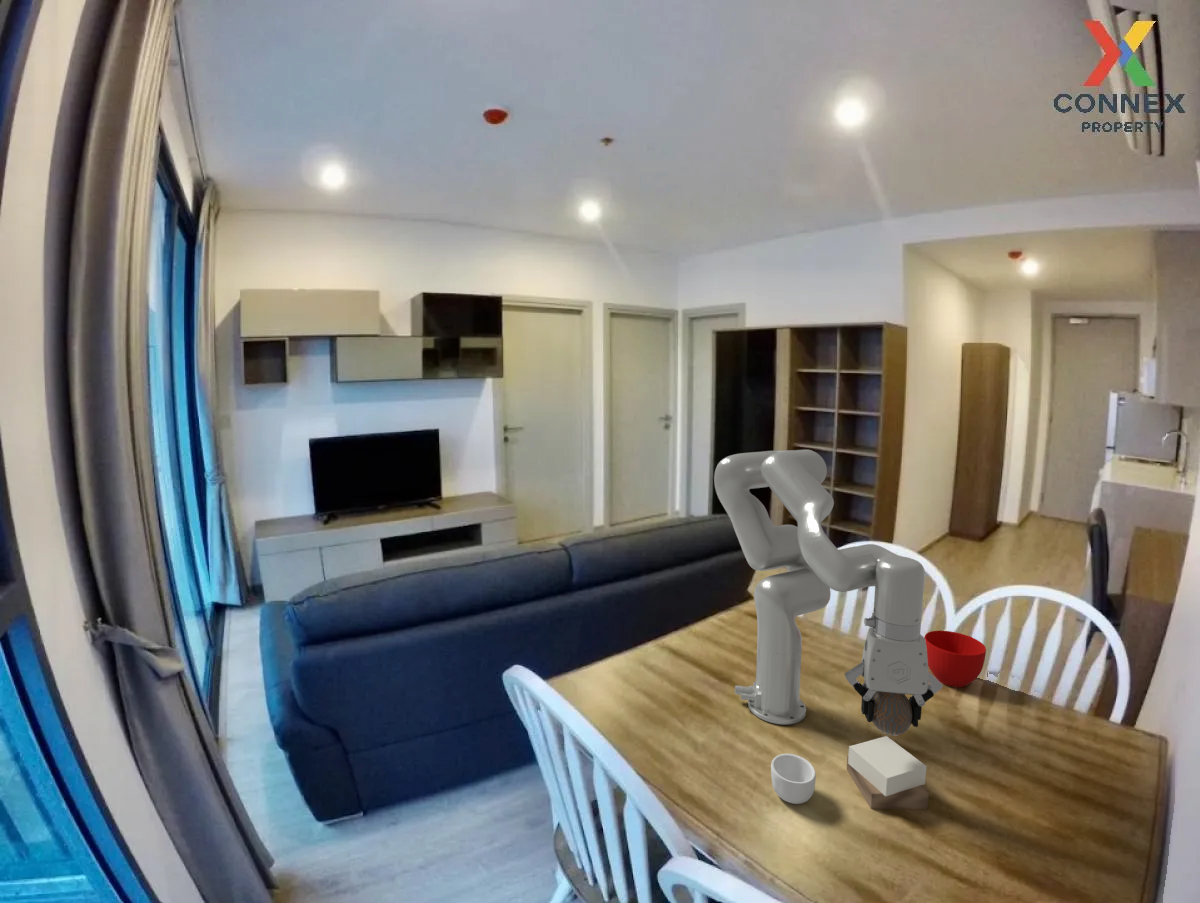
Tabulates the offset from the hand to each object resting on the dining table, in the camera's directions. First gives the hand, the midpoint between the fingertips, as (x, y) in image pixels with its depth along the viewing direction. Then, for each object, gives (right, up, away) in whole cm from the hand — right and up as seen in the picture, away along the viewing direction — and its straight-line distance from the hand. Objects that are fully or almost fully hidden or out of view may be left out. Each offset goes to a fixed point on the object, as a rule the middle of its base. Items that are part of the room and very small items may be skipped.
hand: (890, 719), depth 104 cm
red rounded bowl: (+36, -8, +39) cm, 54 cm away
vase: (0, -2, 0) cm, 2 cm away
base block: (0, -14, +2) cm, 14 cm away
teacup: (-17, -14, +2) cm, 22 cm away
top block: (0, -11, +2) cm, 11 cm away
